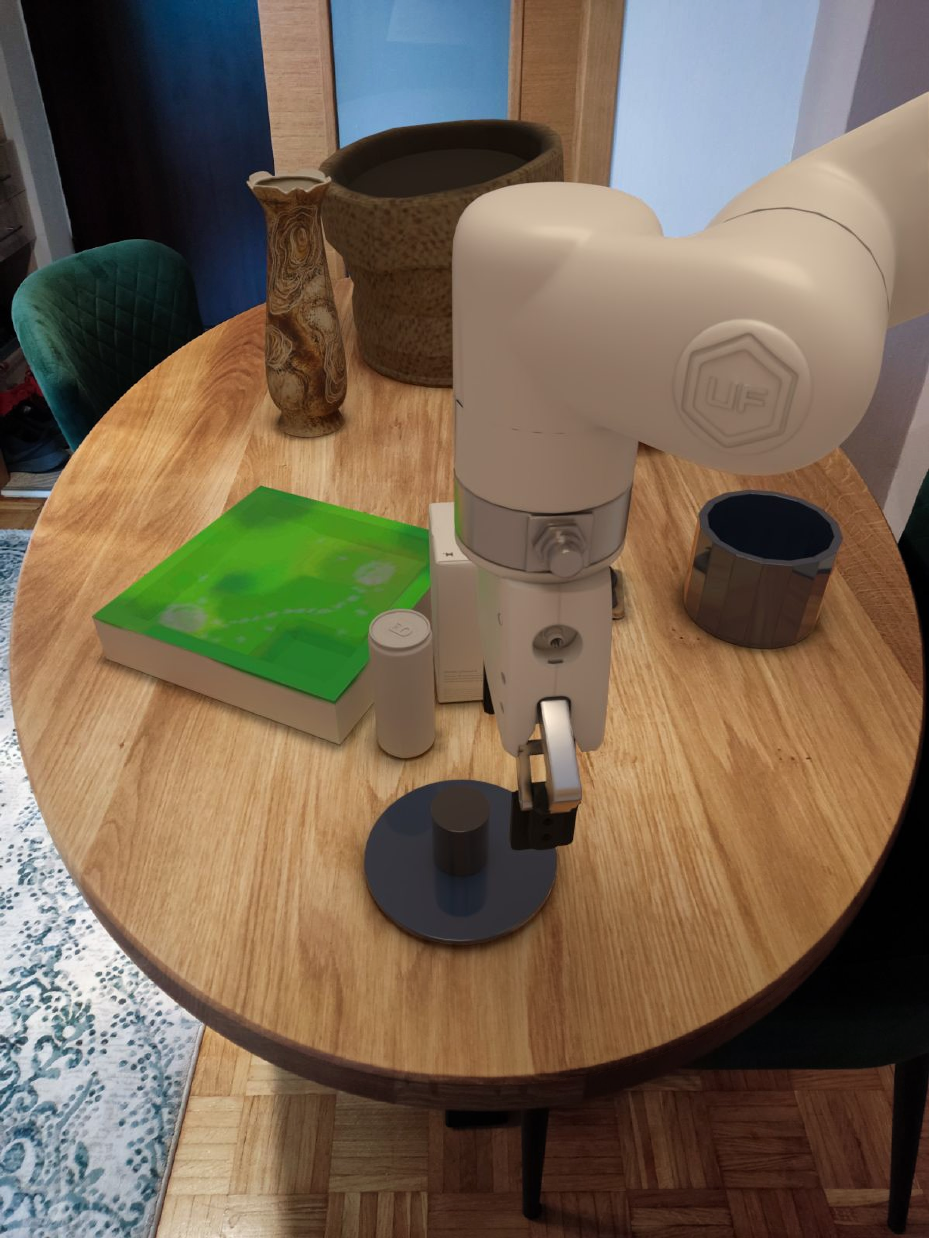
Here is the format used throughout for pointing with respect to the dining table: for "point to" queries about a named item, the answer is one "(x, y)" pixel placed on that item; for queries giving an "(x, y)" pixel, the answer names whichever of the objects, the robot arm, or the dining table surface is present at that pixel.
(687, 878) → the dining table surface
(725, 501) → the enamel pot
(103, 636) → the flat green box
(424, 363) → the pot
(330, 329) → the vase
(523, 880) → the lid
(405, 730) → the beverage can
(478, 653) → the white product box
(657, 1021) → the dining table surface
